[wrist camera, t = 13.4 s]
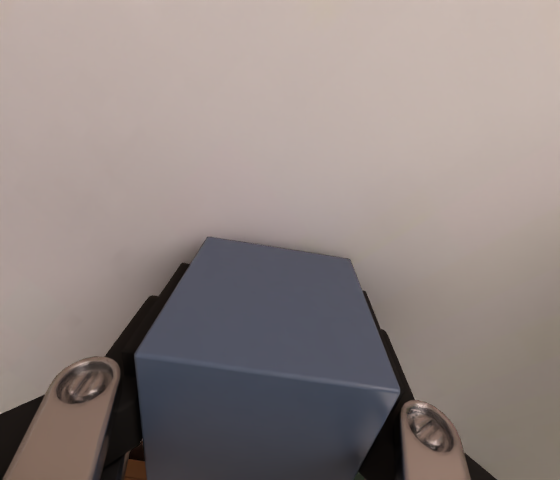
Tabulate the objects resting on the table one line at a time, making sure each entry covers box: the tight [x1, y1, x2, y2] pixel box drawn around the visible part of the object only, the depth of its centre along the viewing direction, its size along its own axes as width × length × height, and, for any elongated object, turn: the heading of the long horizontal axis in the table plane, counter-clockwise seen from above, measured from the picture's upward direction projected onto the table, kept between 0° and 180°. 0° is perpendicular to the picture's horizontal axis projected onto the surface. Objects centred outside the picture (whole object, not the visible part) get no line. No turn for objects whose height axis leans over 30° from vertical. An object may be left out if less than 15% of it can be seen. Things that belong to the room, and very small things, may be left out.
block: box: [134, 237, 400, 480], centre depth 8 cm, size 5×5×5 cm
